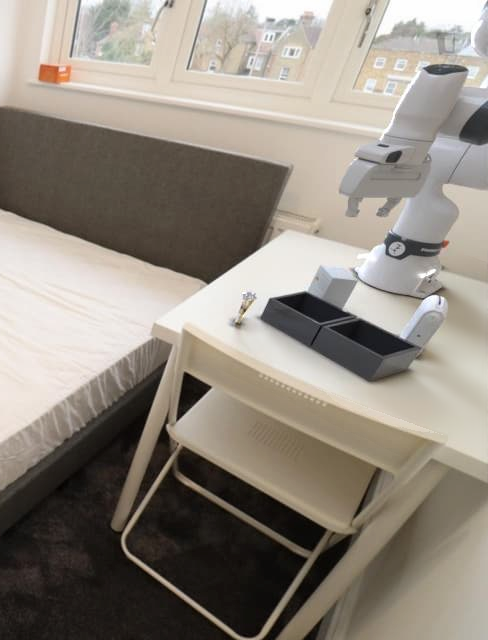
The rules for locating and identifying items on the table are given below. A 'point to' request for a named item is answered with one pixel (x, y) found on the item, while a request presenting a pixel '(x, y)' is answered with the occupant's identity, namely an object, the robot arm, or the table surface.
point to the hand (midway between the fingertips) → (365, 216)
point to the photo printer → (426, 321)
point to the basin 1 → (303, 315)
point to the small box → (333, 285)
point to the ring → (245, 305)
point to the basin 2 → (365, 348)
